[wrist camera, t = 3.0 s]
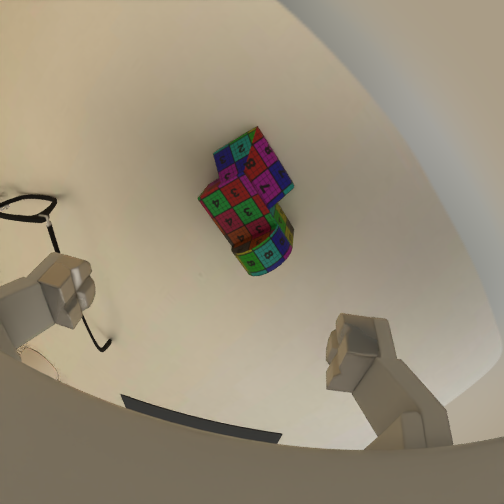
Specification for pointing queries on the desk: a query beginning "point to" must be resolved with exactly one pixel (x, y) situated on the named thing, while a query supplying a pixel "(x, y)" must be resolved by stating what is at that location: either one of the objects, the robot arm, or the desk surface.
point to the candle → (38, 362)
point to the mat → (199, 422)
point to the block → (251, 202)
